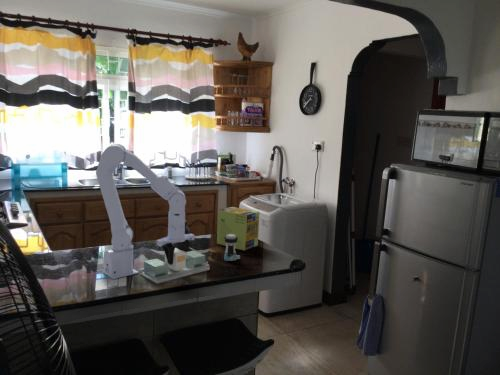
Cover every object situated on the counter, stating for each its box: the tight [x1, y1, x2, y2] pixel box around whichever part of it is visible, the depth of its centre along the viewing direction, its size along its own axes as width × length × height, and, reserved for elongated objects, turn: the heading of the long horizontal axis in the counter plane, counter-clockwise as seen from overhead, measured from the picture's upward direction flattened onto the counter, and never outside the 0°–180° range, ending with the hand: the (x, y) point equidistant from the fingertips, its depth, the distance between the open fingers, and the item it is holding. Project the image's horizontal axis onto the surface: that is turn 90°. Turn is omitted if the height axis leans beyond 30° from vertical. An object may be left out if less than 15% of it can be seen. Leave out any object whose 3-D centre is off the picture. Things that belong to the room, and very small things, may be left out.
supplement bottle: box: [172, 219, 190, 250], centre depth 174 cm, size 7×7×12 cm
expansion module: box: [164, 248, 186, 271], centre depth 147 cm, size 4×7×6 cm, turn 45°
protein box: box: [216, 206, 260, 251], centre depth 184 cm, size 10×15×16 cm
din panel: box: [139, 250, 211, 284], centre depth 147 cm, size 22×11×5 cm, turn 134°
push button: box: [223, 234, 241, 262], centre depth 163 cm, size 7×5×10 cm
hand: (175, 262), depth 147 cm, fingers closed on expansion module, 4 cm apart
